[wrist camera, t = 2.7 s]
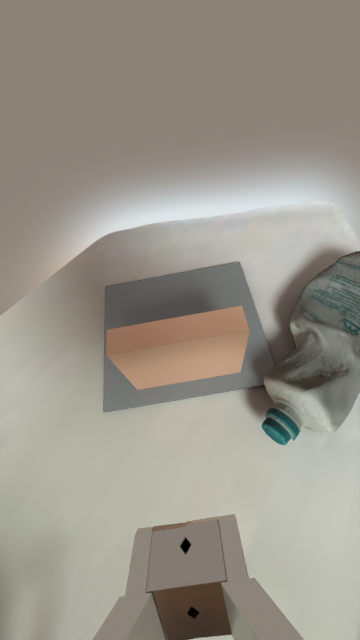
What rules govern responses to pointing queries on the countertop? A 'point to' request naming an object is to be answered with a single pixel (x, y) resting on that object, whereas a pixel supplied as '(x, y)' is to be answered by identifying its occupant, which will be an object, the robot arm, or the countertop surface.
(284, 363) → the detergent
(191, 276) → the mat
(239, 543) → the robot arm
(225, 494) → the countertop surface
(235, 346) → the tile
